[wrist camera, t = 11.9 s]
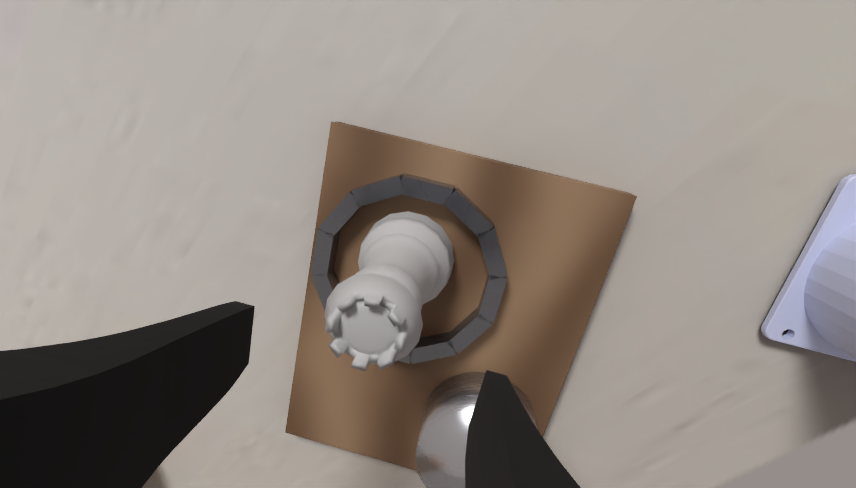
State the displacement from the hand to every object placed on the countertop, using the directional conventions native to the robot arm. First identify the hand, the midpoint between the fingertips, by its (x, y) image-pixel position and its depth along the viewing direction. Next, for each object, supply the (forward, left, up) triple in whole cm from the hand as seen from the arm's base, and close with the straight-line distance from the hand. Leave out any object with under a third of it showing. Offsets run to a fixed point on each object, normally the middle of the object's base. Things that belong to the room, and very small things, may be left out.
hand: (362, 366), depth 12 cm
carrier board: (-2, +3, -9) cm, 10 cm away
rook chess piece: (0, -1, -9) cm, 9 cm away
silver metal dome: (-5, +8, -8) cm, 13 cm away
